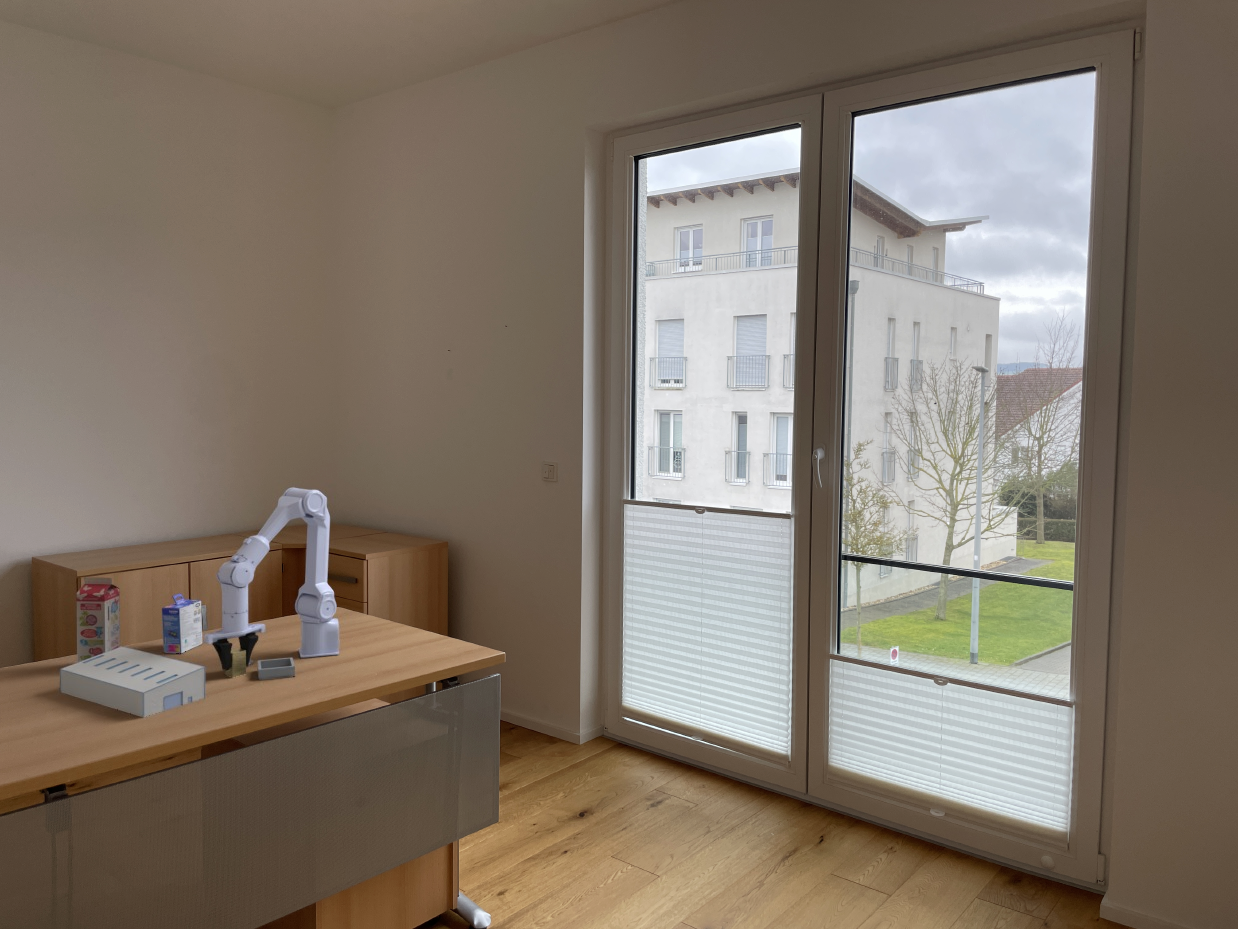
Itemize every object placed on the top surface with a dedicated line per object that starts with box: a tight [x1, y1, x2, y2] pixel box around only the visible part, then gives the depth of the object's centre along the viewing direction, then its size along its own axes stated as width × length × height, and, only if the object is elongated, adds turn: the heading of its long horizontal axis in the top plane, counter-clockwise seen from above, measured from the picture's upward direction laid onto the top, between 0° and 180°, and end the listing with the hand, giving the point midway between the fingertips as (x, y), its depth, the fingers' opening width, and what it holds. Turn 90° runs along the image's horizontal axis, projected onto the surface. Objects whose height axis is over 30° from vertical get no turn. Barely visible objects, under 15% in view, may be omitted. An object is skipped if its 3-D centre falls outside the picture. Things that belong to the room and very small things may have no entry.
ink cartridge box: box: [161, 593, 203, 655], centre depth 229 cm, size 10×6×14 cm, turn 174°
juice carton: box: [76, 576, 121, 663], centre depth 212 cm, size 7×7×22 cm
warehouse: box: [59, 645, 206, 718], centre depth 192 cm, size 30×14×8 cm, turn 62°
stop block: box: [224, 647, 247, 678], centre depth 208 cm, size 3×3×6 cm
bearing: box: [246, 659, 254, 667], centre depth 217 cm, size 5×5×1 cm
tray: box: [257, 657, 296, 681], centre depth 210 cm, size 8×8×2 cm
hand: (235, 667), depth 208 cm, fingers open, 4 cm apart
